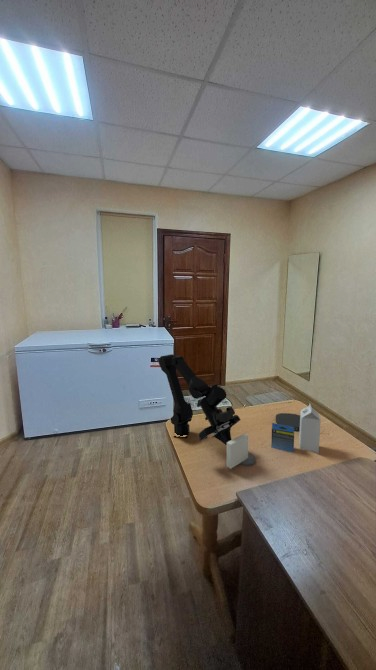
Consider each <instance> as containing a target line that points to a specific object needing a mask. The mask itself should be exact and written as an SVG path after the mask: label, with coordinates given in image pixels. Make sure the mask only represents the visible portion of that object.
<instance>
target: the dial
mask: <svg viewBox="0 0 376 670" xmlns="http://www.w3.org/2000/svg"><path fill="white" fill-rule="evenodd" d="M231 439H232V440H230V441H229V442H227V446H226V463H225V464H226V467H227V468H229V469H230V470H231V469H232V468H235V467H236V466H237V465H239V464H240V465H242V466H248V467H249V466H252V465H254V464H255V463H256V457H255V455H253V453H251V452H249V434H246V433H245V432H244V433H242V434H240V435H238V436H236V437H234V438H231Z"/></svg>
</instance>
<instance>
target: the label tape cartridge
mask: <svg viewBox="0 0 376 670" xmlns="http://www.w3.org/2000/svg"><path fill="white" fill-rule="evenodd" d="M271 425H272V426H271V445H270V446H271V447H270V448H272V449H276V450H279V451H280V450H281V451H284V452H289V453H294V451H295V431H294V427H292V426H286V425H281V424H276V422H272V423H271ZM279 427H284V428H286V429H281V428H279Z"/></svg>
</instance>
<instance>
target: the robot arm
mask: <svg viewBox="0 0 376 670" xmlns="http://www.w3.org/2000/svg"><path fill="white" fill-rule="evenodd" d="M158 365H159V366H160V369H161V371H162V372H163V373H164V374H165V375H166V379H167V382H168V385H169V389H170V391H171V394H172V399H173V402H174V406H173V410H172V412H173V416H171V418H170V423H171V424H172V425H173V426H174V427H173V428H174V430H173V431H174V433H176V434H177V435H180V436H183V435H188V436H189V434H190V430H191V429H190V424H189V422H191V421H192V419H193V416H194V414H193V412H194V411H193V409H192V405H191V403H190V402H189V403H188V402H187V401H186V399H185V397H184V396H185V395H184V393H183V390H182V387H181V383H180V378H179V376H178V374H177V373H178V372H179V374H180V375H181V377H182V378H183V380H184V381H185V382H186V383H187V385H188V386H187V387H188V388H187V389H188V391H189V394H190V396H191V398H192V399H195V400H197V399H198V400H197V404H196V407H197V408H199V407H200V408H201V410H202V412H203V414H204V416H205V417H204V419H205V421H208V423H209V424H210V426H209V425H208V426H207V427H205V428H203V429H201V431H200V432H199V433H198V438H199V439H200V441H201V442H202V441H205V440H206V439H208V437H209V436H210V435H212V434H213V435H212V438H215V439H216V440H218V441H220V442H221V443H222V444H224V445H225V446H226V447H227V442H229V441H230V440H232V439H233V438H232V435H231V434H232V433H231V429H232V428H233V426H235V425H236V424H237V423H239V422H240V421H241V418H240V416H239V415H237V414H236V413H235V409H234V408H233V407H232V406H228V407H226V409H225V410H224V411H223V410H222V408H218V405H220V404H221V403H222V402H223V401H224V400H225V399H226V398H227V392H226V390H225V389H224V388H223V387H221V386H218V384H217V383H216V384H212V385H211V386H209V385H208V383H207V382H205V380H203V379H201V378H199V377H197V375H196V373H194V371H193V370H192V369H191V367H190V366H189V365H188V363H187V362H186V360H185V358H184V356H182V355H174V354H165V355H162V356H160V357H159V359H158ZM177 371H178V372H177ZM174 433H173V434H174Z"/></svg>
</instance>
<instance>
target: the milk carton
mask: <svg viewBox="0 0 376 670" xmlns="http://www.w3.org/2000/svg"><path fill="white" fill-rule="evenodd" d="M299 415H300V431H298V433H299V434H298V435H299V436H298V437H299V438H298V441H299V442H298V445H299V446H298V447H299V449H300V450H304V451H309V452H311V453H313V454H316V455H319V452H320V438H321V436H320V435H321V416H320V413H319V412H318V411H317V410H315V409H314V408H313V407H312V404H309V405H308V406H307V407H304V408H302V409H301V410H300V414H299Z"/></svg>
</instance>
